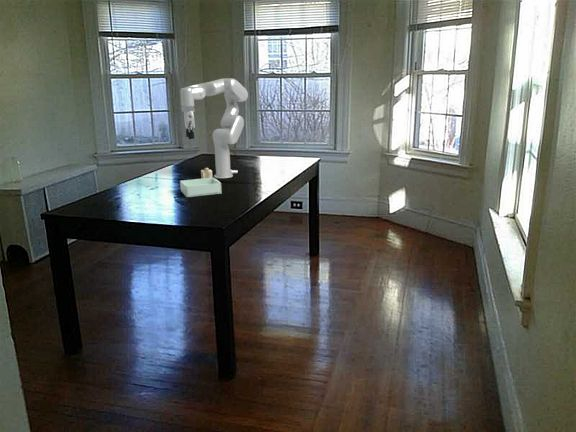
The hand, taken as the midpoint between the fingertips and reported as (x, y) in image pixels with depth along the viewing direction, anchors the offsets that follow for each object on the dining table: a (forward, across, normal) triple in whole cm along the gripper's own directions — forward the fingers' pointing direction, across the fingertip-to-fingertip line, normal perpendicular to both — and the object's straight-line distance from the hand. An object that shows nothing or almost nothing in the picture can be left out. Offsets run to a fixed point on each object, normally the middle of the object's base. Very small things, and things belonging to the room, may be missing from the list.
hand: (190, 137), depth 314 cm
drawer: (+27, -6, -7) cm, 28 cm away
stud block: (+29, -6, -7) cm, 30 cm away
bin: (+28, -24, 0) cm, 37 cm away
